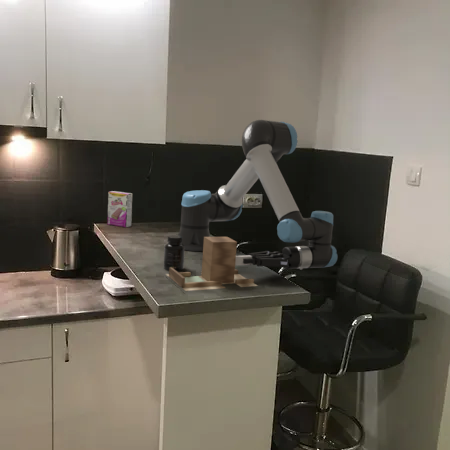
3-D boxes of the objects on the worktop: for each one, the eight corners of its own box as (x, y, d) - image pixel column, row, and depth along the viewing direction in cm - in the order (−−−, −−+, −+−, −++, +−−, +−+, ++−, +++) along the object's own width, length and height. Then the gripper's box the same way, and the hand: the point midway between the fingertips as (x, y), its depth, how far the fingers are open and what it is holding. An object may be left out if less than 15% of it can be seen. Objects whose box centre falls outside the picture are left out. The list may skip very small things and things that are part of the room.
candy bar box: (106, 224, 243) (107, 191, 241) (112, 223, 248) (113, 190, 245) (126, 227, 239) (127, 193, 237) (131, 226, 244) (133, 193, 241)
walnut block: (224, 275, 163) (227, 236, 161) (233, 282, 156) (236, 241, 154) (201, 276, 160) (203, 236, 158) (209, 283, 153) (212, 242, 151)
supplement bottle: (163, 268, 171) (165, 233, 169) (183, 269, 172) (185, 235, 170) (162, 273, 164) (164, 237, 162) (183, 274, 165) (185, 239, 163)
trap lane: (232, 273, 170) (233, 262, 170) (257, 288, 154) (258, 276, 154) (165, 277, 160) (166, 265, 160) (185, 294, 144) (186, 280, 144)
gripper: (305, 273, 163) (241, 277, 152) (283, 263, 174) (223, 266, 164) (307, 251, 161) (243, 253, 151) (285, 242, 173) (224, 244, 163)
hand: (232, 260), depth 158 cm, fingers closed
